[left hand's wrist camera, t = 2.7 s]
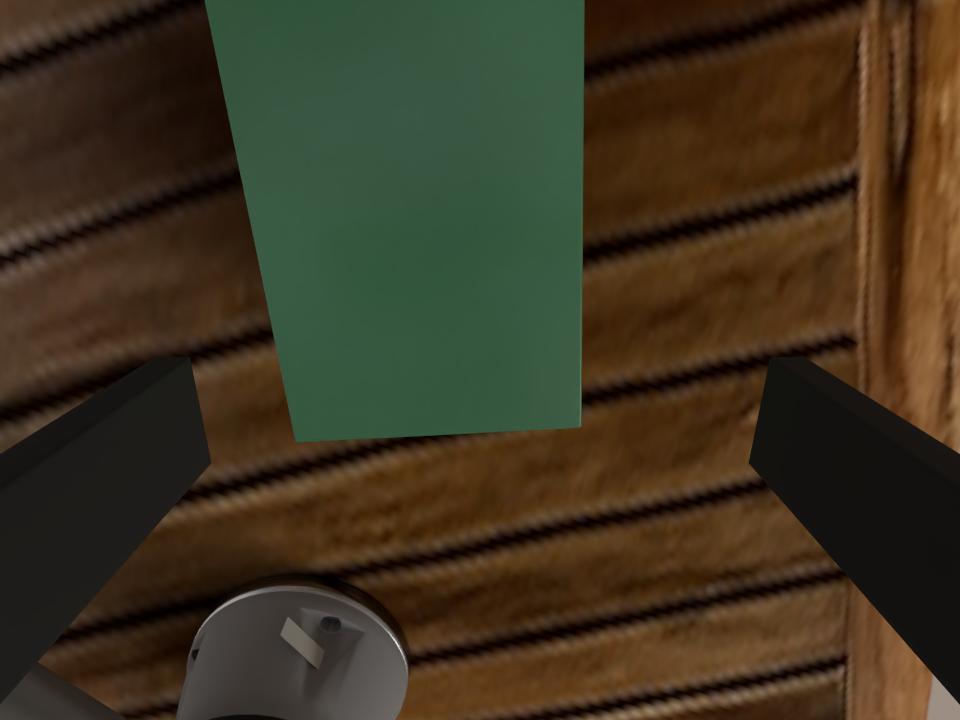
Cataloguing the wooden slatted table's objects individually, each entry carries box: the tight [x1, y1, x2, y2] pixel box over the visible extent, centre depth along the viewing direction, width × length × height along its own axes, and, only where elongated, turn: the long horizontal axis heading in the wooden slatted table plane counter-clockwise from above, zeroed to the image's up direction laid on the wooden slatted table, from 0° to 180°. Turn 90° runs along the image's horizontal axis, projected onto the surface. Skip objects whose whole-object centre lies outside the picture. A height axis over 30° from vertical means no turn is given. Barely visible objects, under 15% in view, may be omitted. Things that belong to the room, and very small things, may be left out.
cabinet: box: [205, 0, 584, 442], centre depth 22 cm, size 21×11×11 cm, turn 3°
